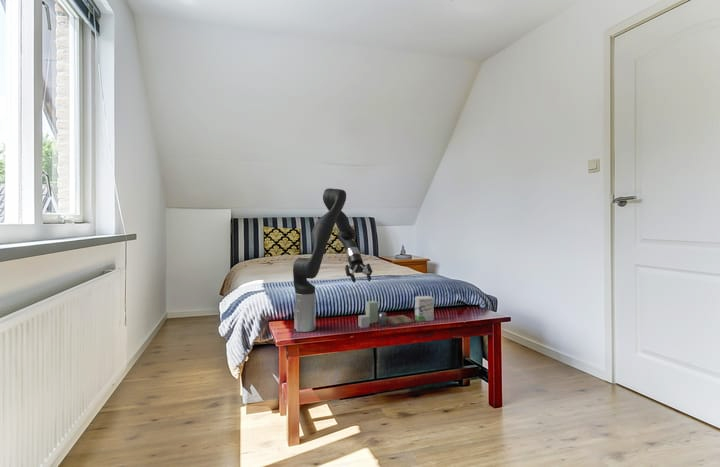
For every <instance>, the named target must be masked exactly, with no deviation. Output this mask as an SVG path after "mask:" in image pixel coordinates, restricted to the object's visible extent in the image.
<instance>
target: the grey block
mask: <svg viewBox="0 0 720 467" xmlns="http://www.w3.org/2000/svg"><path fill="white" fill-rule="evenodd" d="M357 319H358V320H357V322H358V323H357V324H358V325H357V326H358V327H360V328H361V329H367V328H370V323H369V316H367V315H366V314H361V315H358V318H357Z"/></svg>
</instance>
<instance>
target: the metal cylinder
mask: <svg viewBox="0 0 720 467" xmlns="http://www.w3.org/2000/svg"><path fill="white" fill-rule="evenodd" d="M386 317H387V313H386V312H382V311H381V312H378V327H382V328H383V327H387V321H386Z"/></svg>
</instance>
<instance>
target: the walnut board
mask: <svg viewBox="0 0 720 467" xmlns="http://www.w3.org/2000/svg"><path fill="white" fill-rule="evenodd" d="M386 323H389V324H390V325H392V326H400V325H401V324H402V325H408V324H416V320H415V319H412V318H410V317H408V316H406V315H404V314H401V315H399V314H398V315H391V316H386Z"/></svg>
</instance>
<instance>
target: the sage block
mask: <svg viewBox="0 0 720 467" xmlns="http://www.w3.org/2000/svg"><path fill="white" fill-rule="evenodd" d="M365 315H367V316H369V324H375V323H379V302H378V301H376V300H367V301H365Z"/></svg>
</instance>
